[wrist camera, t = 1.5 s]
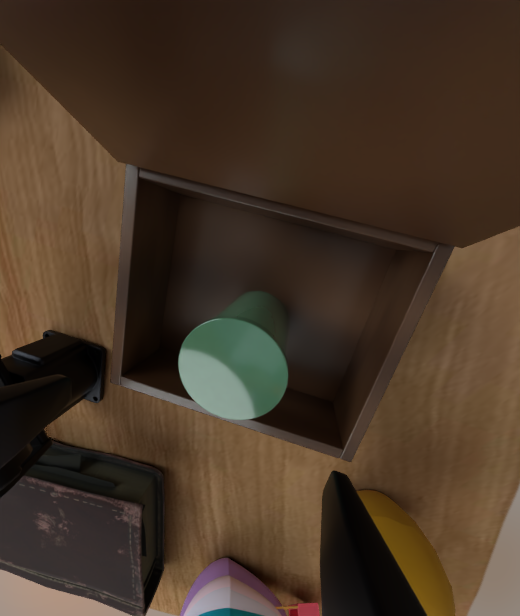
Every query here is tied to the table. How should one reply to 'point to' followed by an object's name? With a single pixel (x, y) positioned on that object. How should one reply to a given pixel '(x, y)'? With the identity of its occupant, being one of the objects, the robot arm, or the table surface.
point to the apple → (411, 553)
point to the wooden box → (278, 282)
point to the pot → (238, 358)
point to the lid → (299, 100)
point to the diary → (87, 527)
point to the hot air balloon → (236, 594)
